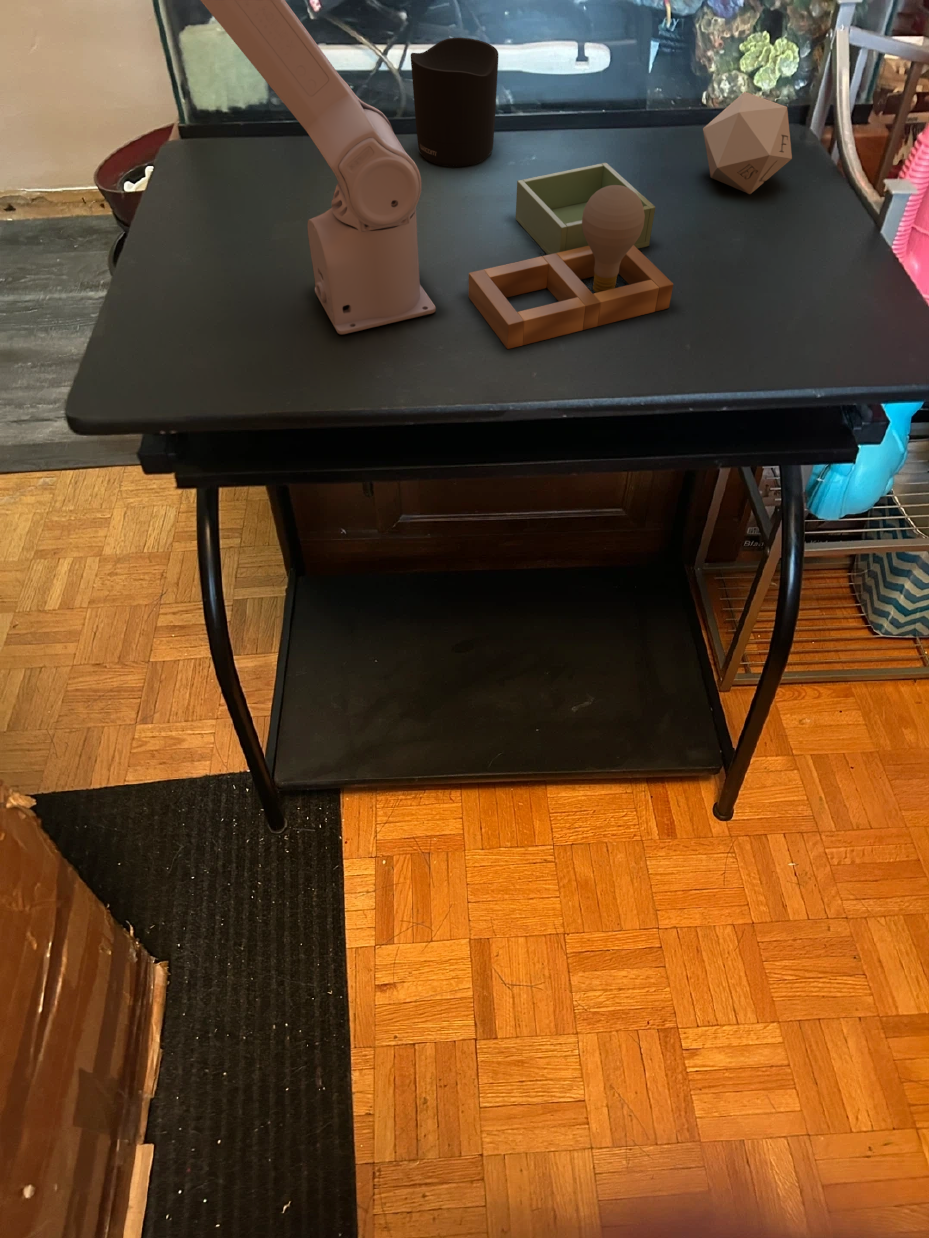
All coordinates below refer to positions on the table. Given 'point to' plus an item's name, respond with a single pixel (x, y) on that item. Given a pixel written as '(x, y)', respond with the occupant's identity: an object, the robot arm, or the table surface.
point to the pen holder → (455, 101)
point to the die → (748, 142)
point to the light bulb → (611, 230)
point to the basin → (568, 206)
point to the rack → (565, 295)
